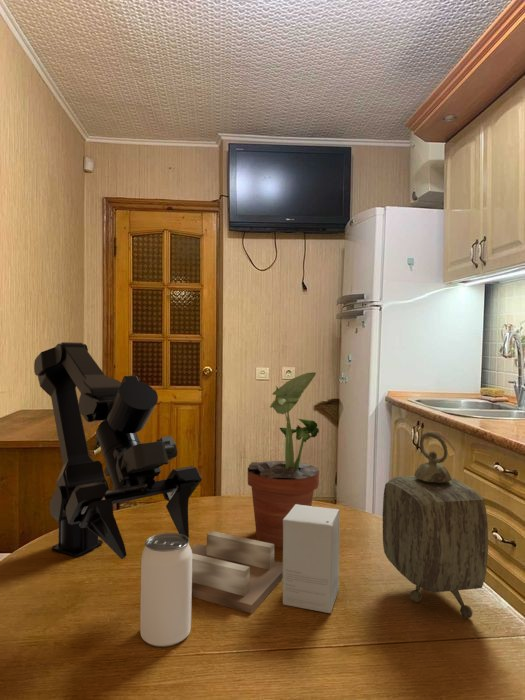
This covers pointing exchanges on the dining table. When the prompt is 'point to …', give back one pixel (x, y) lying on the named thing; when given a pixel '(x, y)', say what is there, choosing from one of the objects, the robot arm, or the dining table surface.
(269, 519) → the potted plant
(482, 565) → the tabletop clock
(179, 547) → the can
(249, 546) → the slot block
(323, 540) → the supplement box
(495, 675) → the dining table surface
